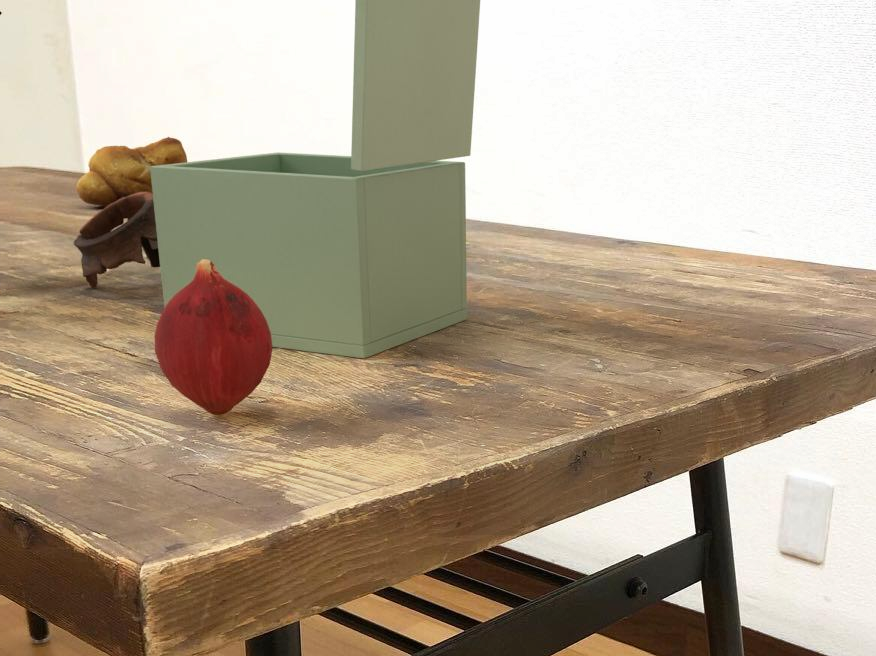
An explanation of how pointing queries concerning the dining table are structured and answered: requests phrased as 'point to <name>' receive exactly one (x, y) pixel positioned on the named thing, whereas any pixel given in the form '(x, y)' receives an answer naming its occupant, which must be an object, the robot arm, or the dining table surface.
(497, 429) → the dining table surface
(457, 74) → the lid
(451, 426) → the dining table surface
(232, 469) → the dining table surface
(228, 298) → the onion
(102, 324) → the dining table surface
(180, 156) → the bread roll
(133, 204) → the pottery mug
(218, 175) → the box
